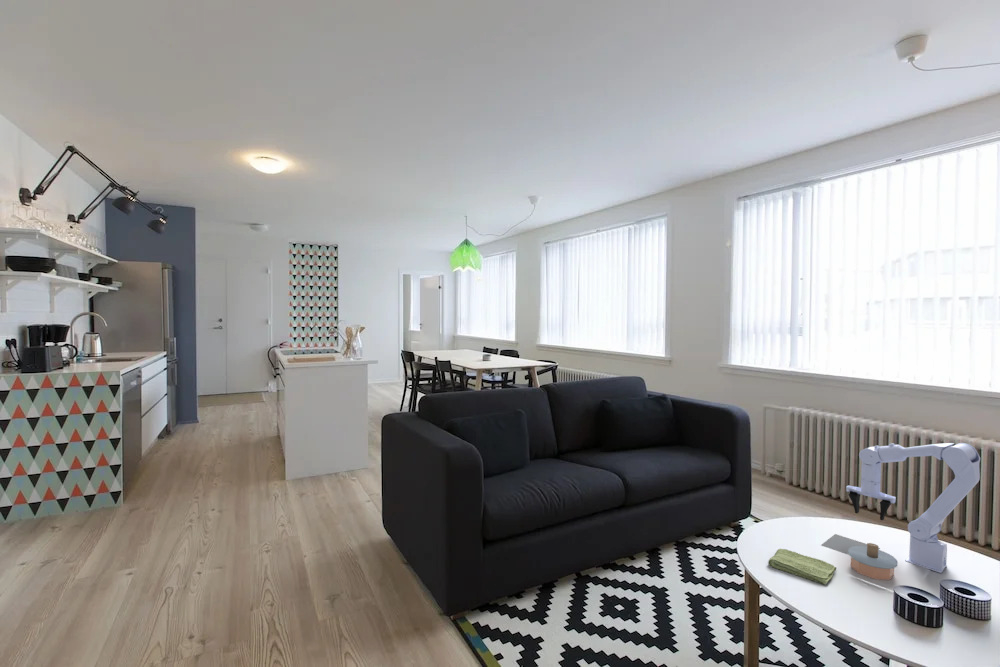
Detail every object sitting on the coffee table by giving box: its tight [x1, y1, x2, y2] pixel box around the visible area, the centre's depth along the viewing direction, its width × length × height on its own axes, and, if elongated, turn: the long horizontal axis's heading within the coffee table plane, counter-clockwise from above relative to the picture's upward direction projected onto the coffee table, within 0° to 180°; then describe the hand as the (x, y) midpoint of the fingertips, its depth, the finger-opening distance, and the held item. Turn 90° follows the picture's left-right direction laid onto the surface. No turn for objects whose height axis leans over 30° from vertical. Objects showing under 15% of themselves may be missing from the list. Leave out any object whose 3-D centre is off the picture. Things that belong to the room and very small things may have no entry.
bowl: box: [850, 557, 895, 581], centre depth 162 cm, size 11×11×4 cm
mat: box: [821, 533, 881, 556], centre depth 178 cm, size 14×14×1 cm
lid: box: [847, 542, 899, 569], centre depth 162 cm, size 13×13×4 cm
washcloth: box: [767, 548, 837, 585], centre depth 164 cm, size 13×18×3 cm
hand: (869, 515), depth 181 cm, fingers open, 7 cm apart
